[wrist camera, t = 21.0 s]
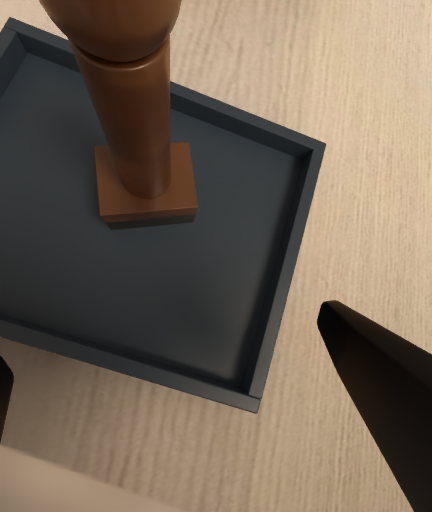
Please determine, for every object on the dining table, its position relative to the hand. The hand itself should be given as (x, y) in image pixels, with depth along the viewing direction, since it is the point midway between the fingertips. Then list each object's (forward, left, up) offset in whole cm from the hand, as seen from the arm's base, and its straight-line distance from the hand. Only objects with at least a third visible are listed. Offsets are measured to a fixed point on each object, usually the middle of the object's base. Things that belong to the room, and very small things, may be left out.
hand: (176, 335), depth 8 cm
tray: (+6, +5, -10) cm, 12 cm away
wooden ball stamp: (+7, +4, -9) cm, 12 cm away
